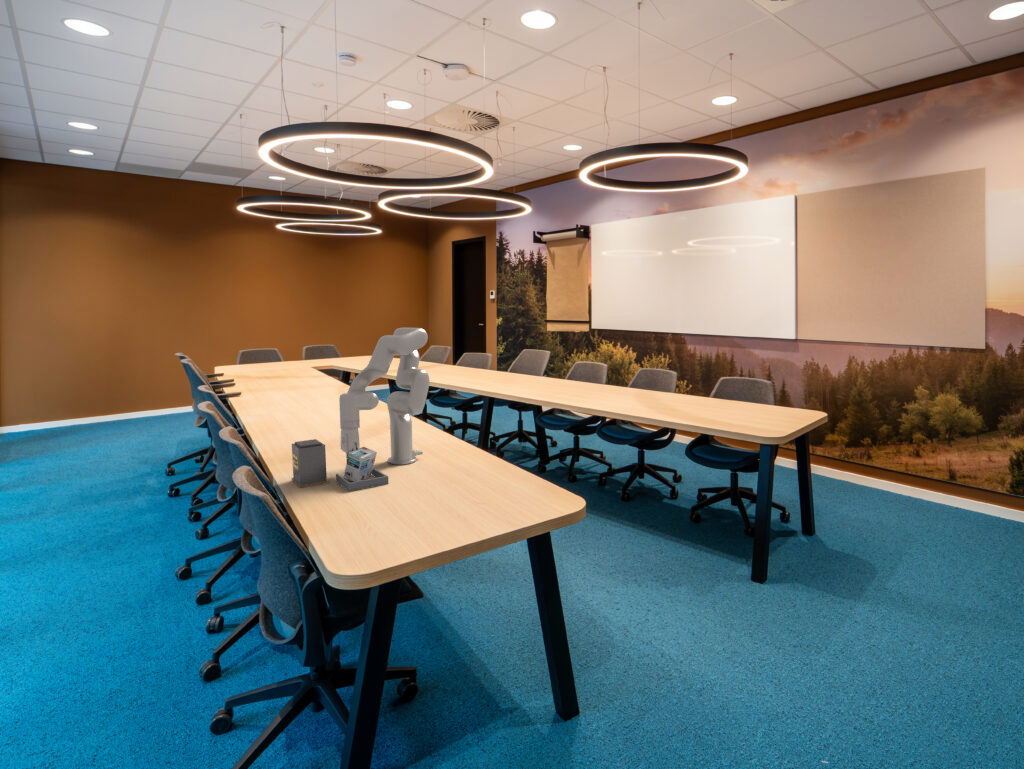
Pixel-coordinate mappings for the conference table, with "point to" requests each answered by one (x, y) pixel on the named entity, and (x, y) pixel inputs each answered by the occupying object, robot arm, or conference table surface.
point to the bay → (363, 481)
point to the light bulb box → (360, 464)
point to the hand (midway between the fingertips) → (351, 468)
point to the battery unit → (309, 463)
